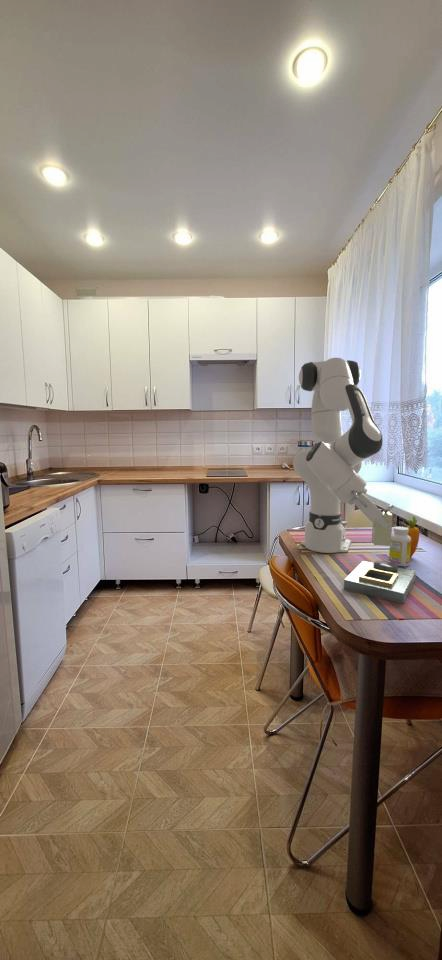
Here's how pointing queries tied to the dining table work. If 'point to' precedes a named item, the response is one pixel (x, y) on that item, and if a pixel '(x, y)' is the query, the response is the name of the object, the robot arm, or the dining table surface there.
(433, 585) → the dining table surface
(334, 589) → the dining table surface
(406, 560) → the supplement bottle
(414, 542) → the carrot
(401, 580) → the grey base plate
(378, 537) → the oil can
